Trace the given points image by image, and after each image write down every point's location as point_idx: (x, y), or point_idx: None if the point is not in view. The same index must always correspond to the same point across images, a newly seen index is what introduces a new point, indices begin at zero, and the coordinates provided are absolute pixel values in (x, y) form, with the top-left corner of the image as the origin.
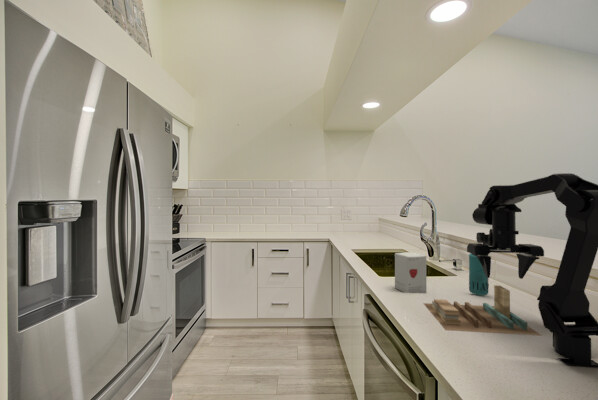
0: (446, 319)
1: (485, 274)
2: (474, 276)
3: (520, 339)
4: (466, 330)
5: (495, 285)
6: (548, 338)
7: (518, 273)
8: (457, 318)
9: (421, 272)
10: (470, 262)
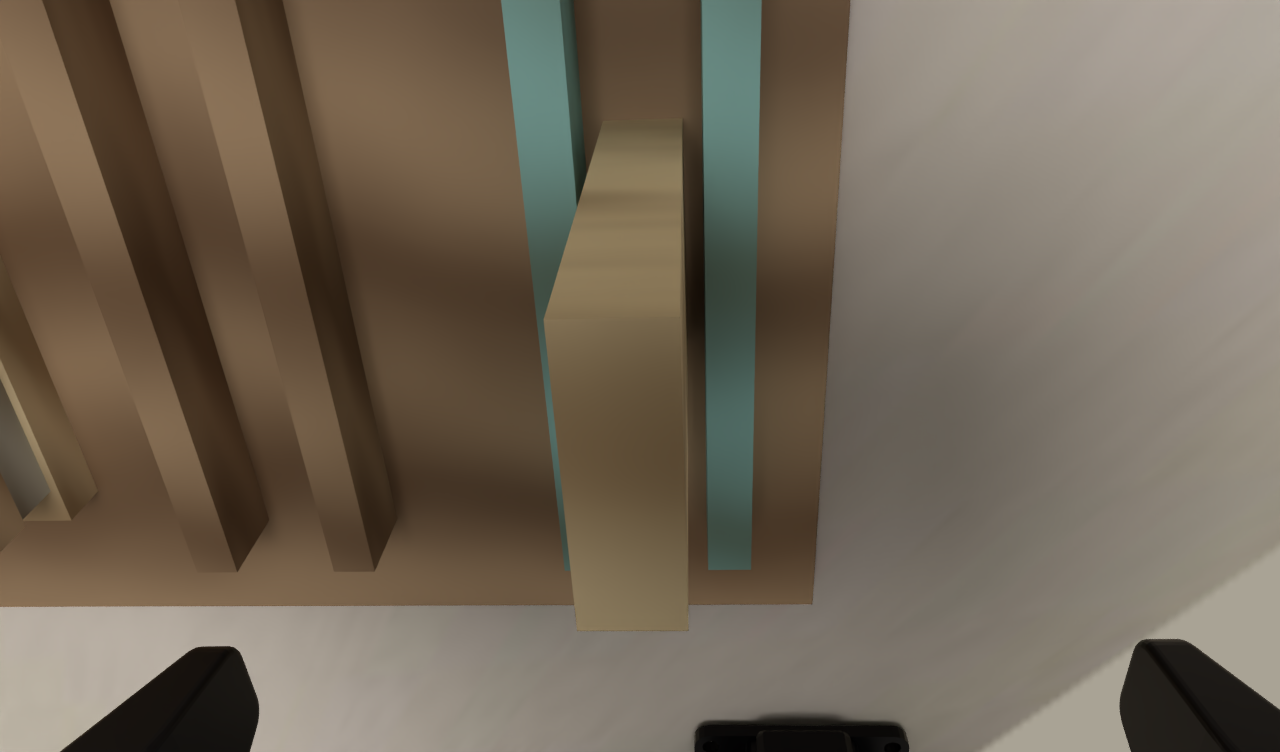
0: None
1: (142, 709)
2: None
3: None
4: (142, 594)
5: (573, 319)
6: (877, 558)
7: (1205, 735)
8: (37, 496)
9: None
10: None
